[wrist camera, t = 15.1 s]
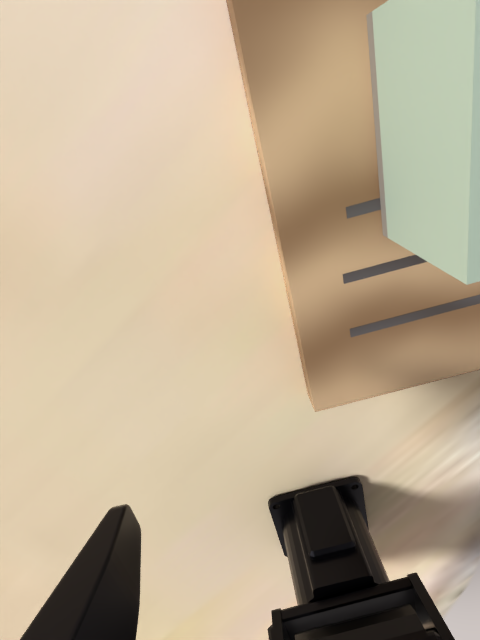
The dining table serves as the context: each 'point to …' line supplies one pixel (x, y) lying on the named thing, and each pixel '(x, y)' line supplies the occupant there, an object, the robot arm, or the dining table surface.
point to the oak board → (342, 210)
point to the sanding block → (429, 128)
